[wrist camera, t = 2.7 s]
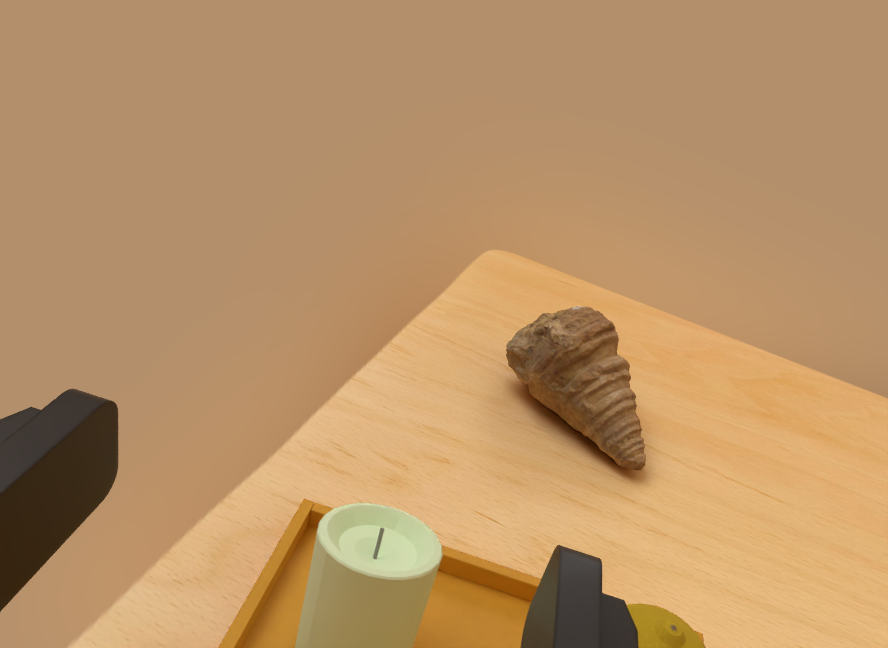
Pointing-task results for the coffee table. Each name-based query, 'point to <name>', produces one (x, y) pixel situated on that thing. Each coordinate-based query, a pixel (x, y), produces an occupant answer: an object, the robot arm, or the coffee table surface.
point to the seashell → (581, 379)
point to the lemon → (662, 628)
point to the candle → (368, 579)
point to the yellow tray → (446, 614)
